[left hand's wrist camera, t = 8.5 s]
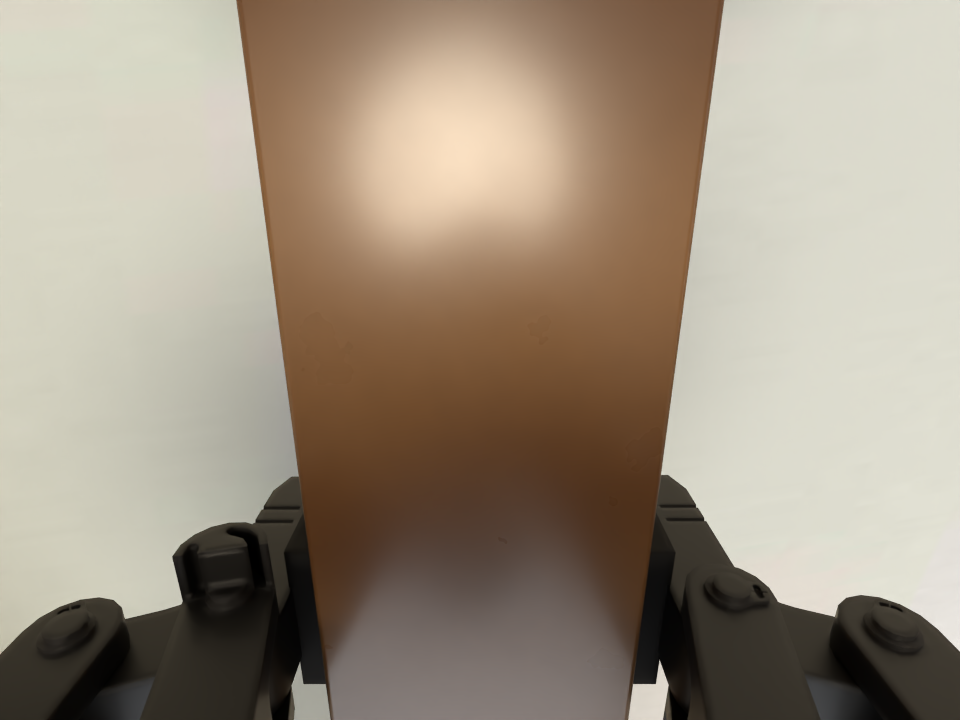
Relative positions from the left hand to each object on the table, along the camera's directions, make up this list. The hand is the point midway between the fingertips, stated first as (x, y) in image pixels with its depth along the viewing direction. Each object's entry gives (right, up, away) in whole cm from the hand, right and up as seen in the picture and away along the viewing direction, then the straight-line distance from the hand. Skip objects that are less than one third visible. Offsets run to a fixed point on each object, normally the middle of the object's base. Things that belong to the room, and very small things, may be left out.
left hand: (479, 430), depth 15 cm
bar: (0, +7, -2) cm, 8 cm away
